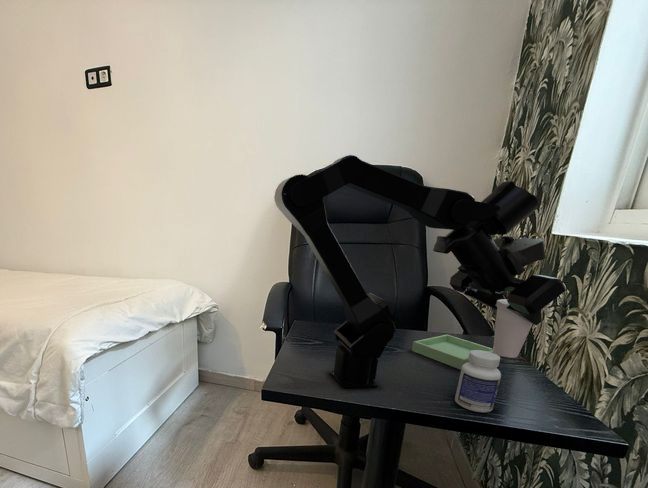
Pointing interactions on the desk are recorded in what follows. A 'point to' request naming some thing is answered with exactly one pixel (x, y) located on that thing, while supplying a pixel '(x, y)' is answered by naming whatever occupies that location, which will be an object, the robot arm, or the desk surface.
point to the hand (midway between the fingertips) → (522, 317)
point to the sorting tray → (448, 349)
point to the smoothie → (509, 331)
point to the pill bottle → (479, 382)
